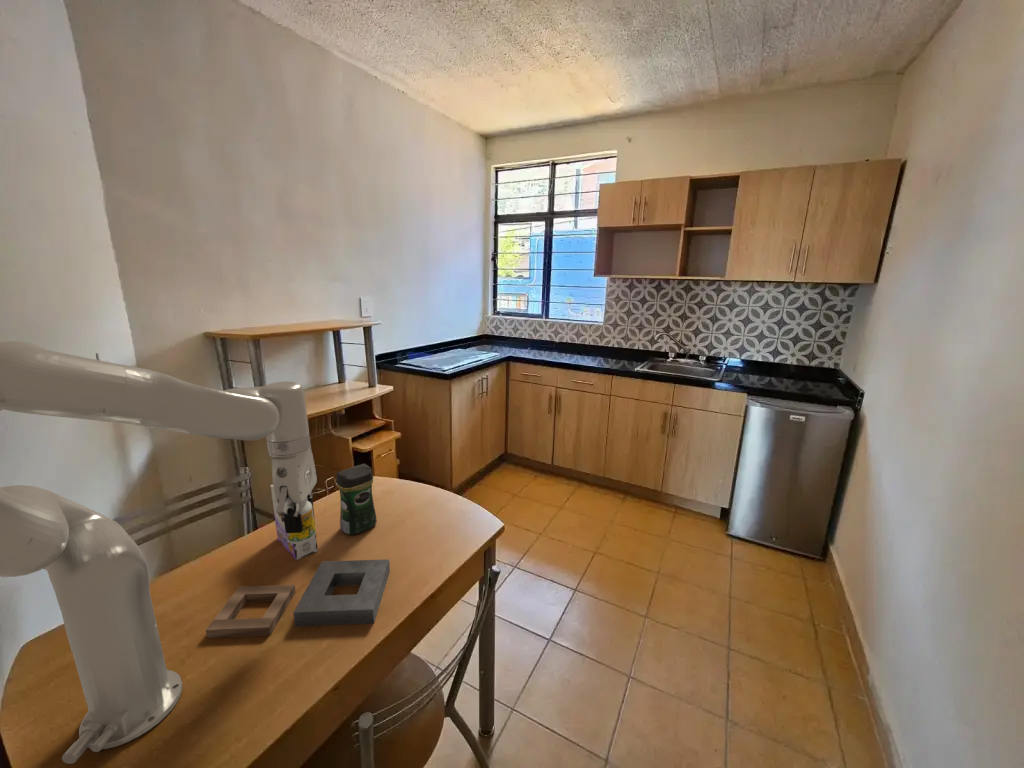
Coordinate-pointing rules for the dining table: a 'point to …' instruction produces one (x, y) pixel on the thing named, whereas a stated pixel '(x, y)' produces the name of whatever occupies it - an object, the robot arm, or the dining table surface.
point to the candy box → (294, 549)
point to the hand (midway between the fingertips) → (300, 522)
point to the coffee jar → (356, 499)
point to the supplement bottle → (303, 523)
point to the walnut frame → (253, 626)
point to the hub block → (343, 609)
